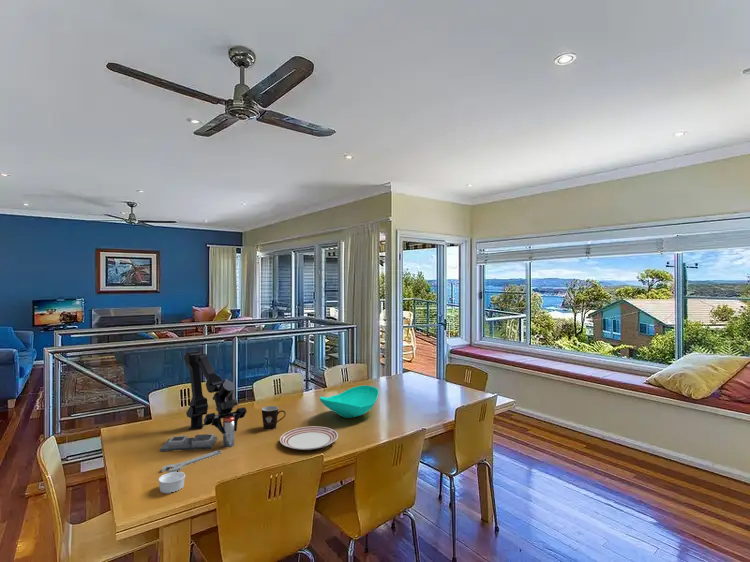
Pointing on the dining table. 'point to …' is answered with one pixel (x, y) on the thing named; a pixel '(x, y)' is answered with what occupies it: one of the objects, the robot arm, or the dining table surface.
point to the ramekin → (171, 482)
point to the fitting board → (189, 442)
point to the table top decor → (352, 401)
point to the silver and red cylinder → (228, 431)
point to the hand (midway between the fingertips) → (229, 432)
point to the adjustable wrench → (188, 462)
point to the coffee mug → (270, 416)
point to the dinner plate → (308, 438)
